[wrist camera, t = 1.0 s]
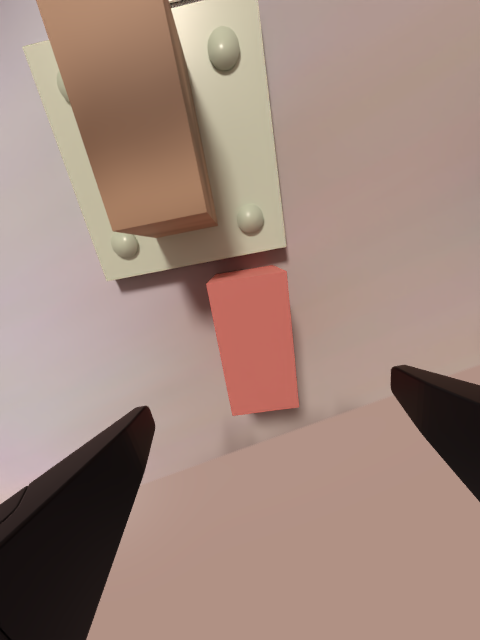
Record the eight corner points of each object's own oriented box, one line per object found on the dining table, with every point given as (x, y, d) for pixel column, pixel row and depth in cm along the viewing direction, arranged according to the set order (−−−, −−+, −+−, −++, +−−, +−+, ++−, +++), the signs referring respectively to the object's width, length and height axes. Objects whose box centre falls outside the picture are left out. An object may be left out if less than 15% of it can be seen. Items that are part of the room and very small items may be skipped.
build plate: (254, 9, 12) (256, -19, 10) (283, 247, 15) (287, 246, 14) (39, 62, 12) (18, 43, 11) (114, 279, 16) (105, 281, 15)
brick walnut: (111, 78, 12) (21, -43, 7) (185, 60, 11) (146, -78, 7) (156, 238, 14) (112, 231, 9) (218, 225, 14) (207, 212, 9)
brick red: (216, 273, 16) (206, 284, 11) (272, 265, 16) (286, 271, 11) (234, 372, 18) (232, 415, 13) (283, 365, 18) (299, 407, 13)
